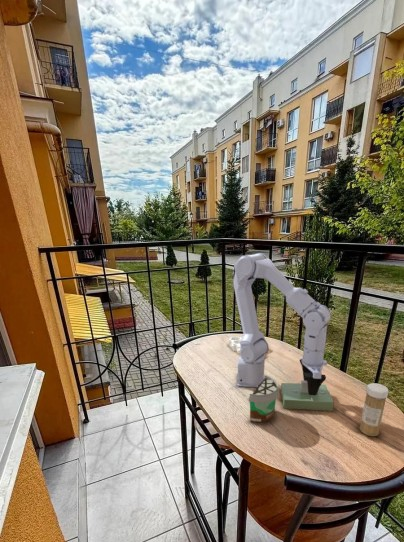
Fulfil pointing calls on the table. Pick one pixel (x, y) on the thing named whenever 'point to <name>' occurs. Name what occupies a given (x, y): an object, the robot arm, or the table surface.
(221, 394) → the table surface
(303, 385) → the tap handle
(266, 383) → the food container
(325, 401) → the plate
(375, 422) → the sprinkles bottle
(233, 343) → the cream bumpy slab
